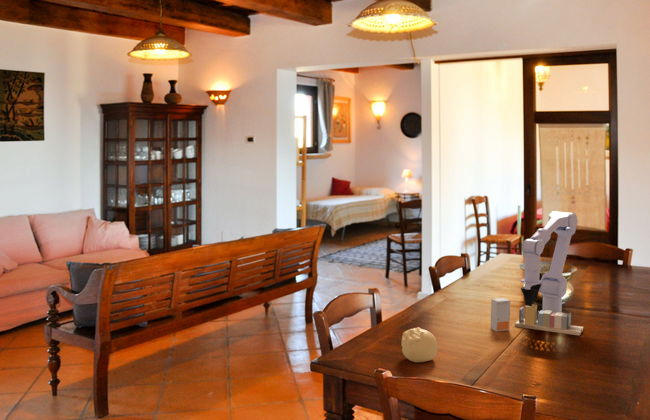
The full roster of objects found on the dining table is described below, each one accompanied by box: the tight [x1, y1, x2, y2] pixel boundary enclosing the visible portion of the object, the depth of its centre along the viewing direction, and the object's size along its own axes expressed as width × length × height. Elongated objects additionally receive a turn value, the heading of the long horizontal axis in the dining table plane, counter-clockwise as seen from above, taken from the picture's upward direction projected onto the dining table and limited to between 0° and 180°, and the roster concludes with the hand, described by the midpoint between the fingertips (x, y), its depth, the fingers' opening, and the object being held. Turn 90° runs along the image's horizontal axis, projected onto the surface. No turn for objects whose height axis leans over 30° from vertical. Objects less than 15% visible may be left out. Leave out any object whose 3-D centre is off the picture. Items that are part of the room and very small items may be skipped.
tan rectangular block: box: [524, 303, 538, 325], centre depth 249 cm, size 4×4×7 cm
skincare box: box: [490, 297, 511, 332], centre depth 244 cm, size 6×4×12 cm
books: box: [537, 309, 569, 329], centre depth 245 cm, size 5×11×5 cm, turn 60°
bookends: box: [518, 306, 572, 330], centre depth 247 cm, size 5×18×5 cm, turn 59°
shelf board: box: [514, 318, 584, 336], centre depth 246 cm, size 8×24×1 cm, turn 59°
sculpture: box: [400, 326, 438, 363], centre depth 213 cm, size 12×12×11 cm
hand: (531, 303), depth 249 cm, fingers open, 7 cm apart
